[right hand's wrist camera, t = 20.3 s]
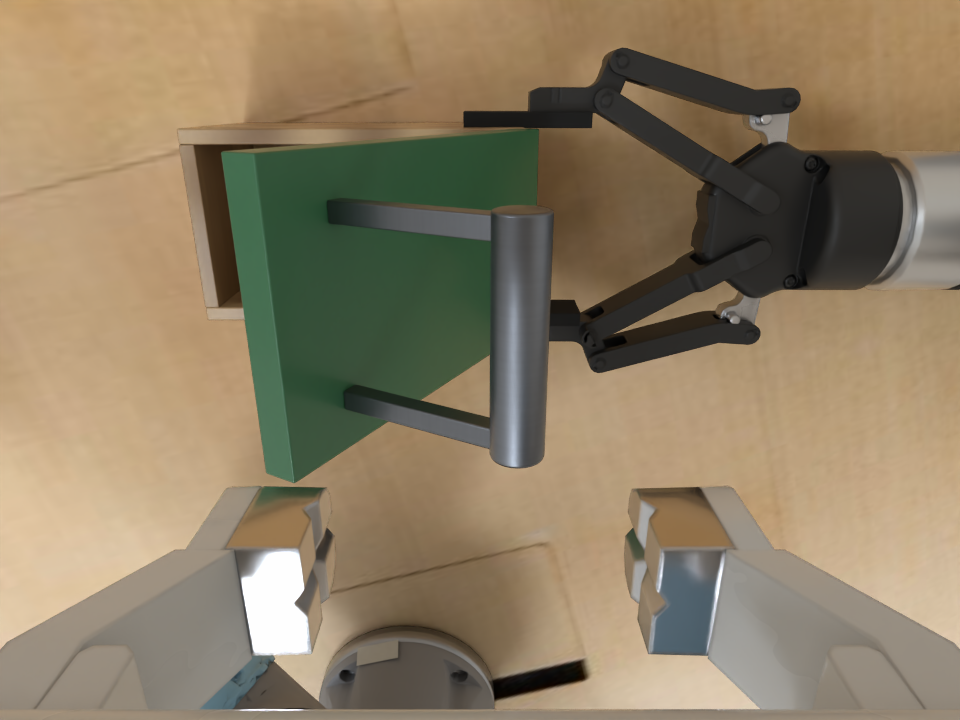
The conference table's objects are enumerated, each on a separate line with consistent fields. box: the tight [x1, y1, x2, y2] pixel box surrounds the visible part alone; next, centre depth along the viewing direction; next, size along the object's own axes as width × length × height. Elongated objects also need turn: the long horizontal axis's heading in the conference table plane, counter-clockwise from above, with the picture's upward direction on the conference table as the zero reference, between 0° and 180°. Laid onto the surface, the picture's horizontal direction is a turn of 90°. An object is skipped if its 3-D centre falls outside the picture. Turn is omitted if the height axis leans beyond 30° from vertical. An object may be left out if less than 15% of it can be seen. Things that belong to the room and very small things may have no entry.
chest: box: [177, 122, 526, 320], centre depth 38 cm, size 17×10×10 cm, turn 90°
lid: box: [221, 129, 554, 483], centre depth 24 cm, size 18×10×8 cm
